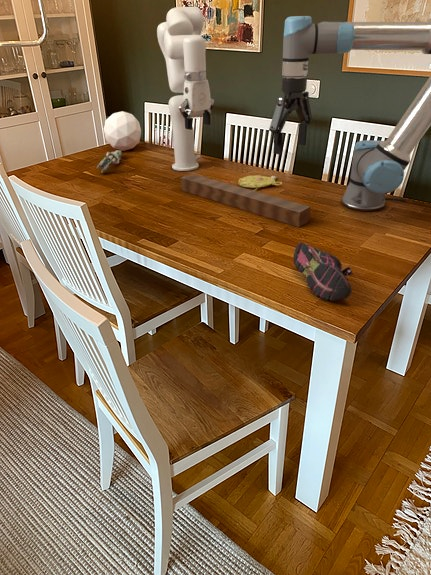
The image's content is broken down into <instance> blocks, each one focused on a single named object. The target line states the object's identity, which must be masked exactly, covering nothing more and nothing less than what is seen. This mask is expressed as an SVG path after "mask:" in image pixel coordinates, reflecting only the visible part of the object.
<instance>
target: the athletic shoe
mask: <svg viewBox="0 0 431 575" xmlns="http://www.w3.org/2000/svg"><path fill="white" fill-rule="evenodd" d="M292 263H293V266H294V265H295V266H294V267H295V268H296V270H298V272H300V273H302V274H303V275H304V276H305V277H306V283H307V286H308V288H309V289H310V290H311V291H312V294H314V295H315V296H316V297H319V299H324V300H326V301H328V300H330V301H339V300H343V299H347V298H348V297H349V296H351V294H352V287H351V284H350V283H349V280H348V279H347V277H348V276H351V275H353V276H354V275H355V274H354V273H353V270H352V269H351V267H349V266H348V267H345V268H343V264H342V262H341V260H340V259H339V258H338V257H336V256H335V255H333V254H331V253H329V252H327V251H323V250H321V249H319V248H315V247H312V246H311V245H309V244H307V243H306V242H299V243H298V244H296V247H295V249H294V252H293V258H292Z"/></svg>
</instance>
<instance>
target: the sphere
mask: <svg viewBox="0 0 431 575" xmlns="http://www.w3.org/2000/svg"><path fill="white" fill-rule="evenodd" d="M103 134H104V138H105V141H106V142H107V143H108V144H109V145H110V146H111V147H112V148H113V149H115V150H118V151H119V150H120V151H121V152H125V151H128V150H131V149H133V148H135V147H136V146H137V145H138V144H139V143H140V142H141V136H142V129H141V123H140V121H139V120H138V119H137V118H136V117H135V115H134V114H132V113H130V112H127V111H123V110H122V111H118V112H117V111H116V112H113V113H112V114H111V115H110V116H108V117H107V118H106V119H105V121H104V126H103Z"/></svg>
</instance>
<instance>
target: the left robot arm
mask: <svg viewBox="0 0 431 575" xmlns="http://www.w3.org/2000/svg"><path fill="white" fill-rule="evenodd" d="M203 14H204V13H203V12H202V10H201V9H200V8H199V7H198V6H176V7H172V8H171V9H169V11H168V12H167V13H166V18H165V20H166V21H164V22H160V23H159V24H158V26H157V28H156V36H157V41H158V45H159V48H160V50H161V52H162V55H163V57H164V60H165V66H166V72H167V80H168V86H169V89H170V91H171V93H174V94H179V95H174V96H171V97H170V99H169V100H168V111H169V116H170V121H171V129H172V142H173V154H174V163H172V164H171V169H172V170H174V171H177V172H189V171H190V172H191V171H194V170H197V169H198V168H199V167H200V165H199V163H198V162H197V161H198V160H200V159H201V158H202V156H201V155H200V154H197V155H196V152H195V150H196V148H195V131H194V127H193V119H194V118H202V124H203V125H206V126H207V125H208V126H211V114H212V110H213V108H214V106H213V105H214V103H215V99H213V98H212V97H211V89H210V83H209V80H208V79H207V60H206V51H207V43H206V40H205V38H204V37H203V36H202V32H203V30H204V29H203V28H204V23H205V21H204V15H203Z"/></svg>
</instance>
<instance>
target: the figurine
mask: <svg viewBox="0 0 431 575" xmlns="http://www.w3.org/2000/svg"><path fill="white" fill-rule="evenodd" d="M122 153H123V151H122V150H118V149H115V151H111V152H110V151H107V152H106V153H105V155H106V156H104V157H103V158H102V159H101V161H100V162H99V163H98V165H97V167H96V169H97V170H100V173H101V174H104V173H105V172H106V171H107V170H108V169H109V168H110V167H111V166H112V165H119V164H120V160H121V158H122V157H123V154H122Z"/></svg>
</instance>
